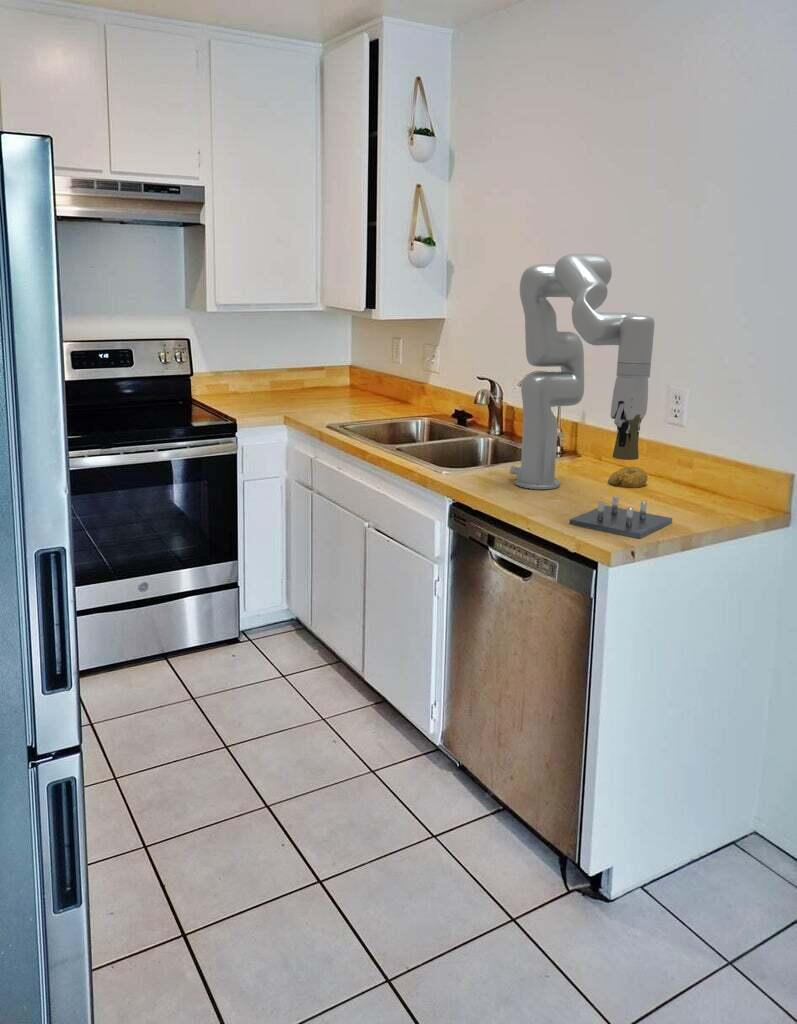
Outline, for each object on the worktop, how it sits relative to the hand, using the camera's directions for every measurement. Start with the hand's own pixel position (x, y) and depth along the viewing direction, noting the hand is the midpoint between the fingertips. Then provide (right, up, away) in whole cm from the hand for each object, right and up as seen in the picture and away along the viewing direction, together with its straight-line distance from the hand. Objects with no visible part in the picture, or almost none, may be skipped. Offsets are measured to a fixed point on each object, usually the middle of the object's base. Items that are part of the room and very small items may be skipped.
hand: (627, 447), depth 215 cm
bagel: (+11, -8, +45) cm, 47 cm away
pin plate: (0, -18, +5) cm, 19 cm away
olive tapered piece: (0, -2, 0) cm, 2 cm away
